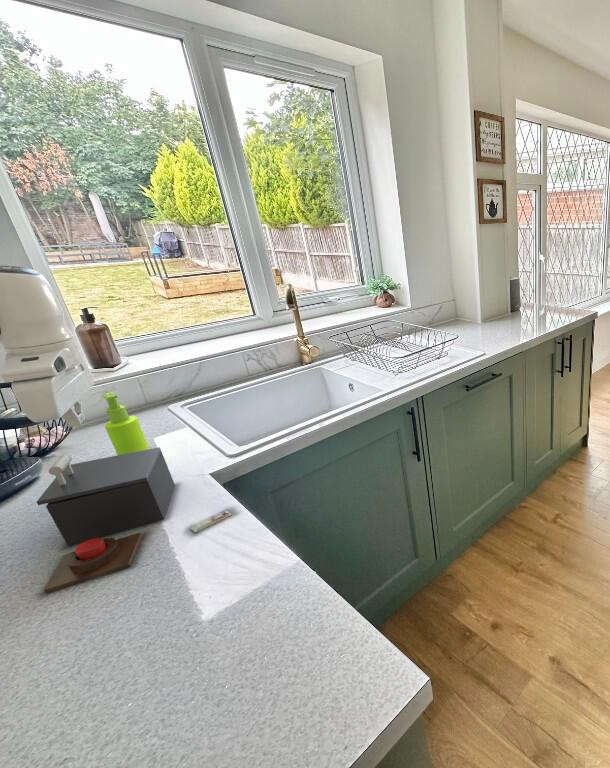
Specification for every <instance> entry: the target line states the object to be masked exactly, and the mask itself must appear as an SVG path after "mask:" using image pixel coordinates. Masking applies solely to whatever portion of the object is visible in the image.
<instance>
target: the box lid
mask: <svg viewBox="0 0 610 768" xmlns="http://www.w3.org/2000/svg"><path fill="white" fill-rule="evenodd" d="M160 451H161V452H162V449H161V447H160V446H159V447H154V448H150V449H147V450H142V451H137V452H132V453H127V454H122V455H117V454H116V455H111V456H107V457H102V458H97V459H92V460H88V461H87V460H86V461H82V462H81V461H80V462H77V463H71V462H72V461H73V457H72V455H70V454H62V455H60V456H59V457H58V458H57V459H56V460H55V462H54V463H53V464H52V465H51V466H50V468H48V473H49V474H50V475H52V476H55V478H54V479H53V480H52V481H51V483H50V484H49V485H48V487H47V488H46V489H45V491H44V492H43V493H42V494H41V496H40V497H39V498H38V499H37V500H36V504H37V506H41V505H47V504H48V503H51V502H55V501H60V500H64V499H69V498H73V497H78V496H82V495H87V494H91V493H96V492H100V491H104V490H109V489H113V488H118V487H122V486H127V485H131V484H136V483H140V482H145V481H148V478H149V476H150V474H151V471H152V469H153V467H154V465H155V462H156V460H157V458H158V455H159V453H160Z"/></svg>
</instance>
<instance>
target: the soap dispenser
mask: <svg viewBox="0 0 610 768" xmlns="http://www.w3.org/2000/svg"><path fill="white" fill-rule="evenodd" d="M100 396H101V397H102V398H103V399H105V400H106V403H107V405H108V408H106V409H105V413H106V414H107V417H108V419H109V421H108V422H106V423H105V424H104V428H105V431H106V433H107V435H108V437H109V439H110V442H111V443H112V446H113V449H114V451H115V453H116V456H117V455H122V454H127V453H132V452H137V451H142V450H147V449H151V447H150V446H149V443H148V440H147V439H146V435H145V434H144V431H143V428H142V427H141V424H140V422H139V419H138V417H137V416H135V415H129V413H128V411H127V409H126V408H127V407H126V406H125V405H124V404H119V402H118V395H117V394H116V393H114V392H113V391H109V392H105V393H101V394H100Z"/></svg>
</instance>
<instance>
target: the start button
mask: <svg viewBox="0 0 610 768" xmlns="http://www.w3.org/2000/svg"><path fill="white" fill-rule="evenodd" d="M104 550H106V545H105V543H104V541H103V537H101V538H94V539H90V540H88V541H85V542H83V543H80V544H78V545H77V546H76V547H75V549H74V552H76V554H77V556H78V558H79V559H80V560H86V559H90V558H93V557H95V556H97V555H99V554H101V553H102V552H103V551H104Z"/></svg>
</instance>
